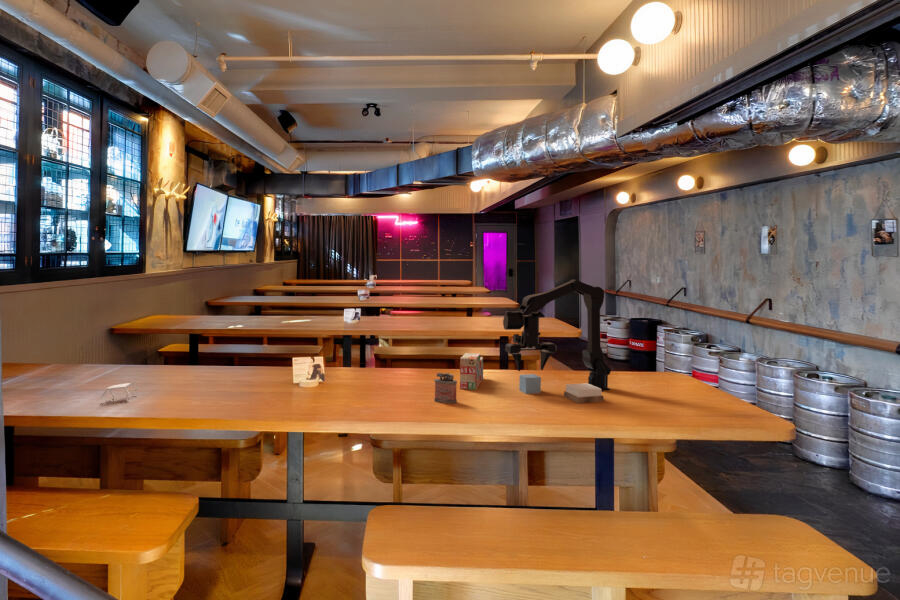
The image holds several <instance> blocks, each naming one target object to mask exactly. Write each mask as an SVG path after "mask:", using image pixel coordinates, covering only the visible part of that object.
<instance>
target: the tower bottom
mask: <svg viewBox="0 0 900 600" xmlns="http://www.w3.org/2000/svg"><path fill="white" fill-rule="evenodd" d="M563 397H564V398H566V399H568V400H570V401H572V402H575V403H577V404H587V403H601V402H604V395H602V394H601V396H590V397H577V396H575V395H573V394H571V393H568V392H566V390H564V391H563Z"/></svg>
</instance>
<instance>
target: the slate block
mask: <svg viewBox="0 0 900 600" xmlns="http://www.w3.org/2000/svg"><path fill="white" fill-rule="evenodd" d="M541 382H542V377H541V376H539V375H537V374H534V373H531V374H528V373H527V374H519V383H518V385H519V386H518V390H519V392H521V393H524V394H525V395H530V394H541V392H542V391H541V390H542V389H541V385H542V383H541Z"/></svg>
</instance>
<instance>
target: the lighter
mask: <svg viewBox="0 0 900 600" xmlns="http://www.w3.org/2000/svg"><path fill="white" fill-rule="evenodd" d="M436 377H438V378H434V400H433V401H434V402H436V403H445V404H457V403H458V400H457V383H458V380H456V379H454V377H455V375H454V374H451V373H449V372H445V373H443V372H437V373H436Z"/></svg>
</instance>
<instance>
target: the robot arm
mask: <svg viewBox="0 0 900 600" xmlns="http://www.w3.org/2000/svg"><path fill="white" fill-rule="evenodd" d="M573 292H575V293H577V294H578V295H581V296H582V298H583V302H584V305H585V308H586V310H587V311H586V312H587V316H586V317H587V347H586V349H583V350H582V359H581V360H582V362H583V364H584V366H585V367H587V371H588V372H589V373H588V374H589V376H588V379H587V380H588V381H587V382H588V384H591V385H593V386H596V387H598V388H601V389H602V390H601V391H609V390H610V389H611V388H609V387H608V381H609V380H608V379H609V375H610V374H611V371H612V369H611V368H610V367H609V366H608V365H607V364H606V361H605V360H606V359H605V354H604V352H603V350H602V348H601V308H602V307H603V304H604V301H605V291H604V289H603V288H602V287H600V286H595V285H594V286H593V285H590V284H587V283H584V282H583V281H581V280H579V279H570V280H569V281H567V282H565V283H563V284H561V285H558V286H556V287H553V288H550V289H549V290H546V291H544V292H540V293H533V294H529V295H526V296H524V297H523V299H522V300H521V301H522V303H521V304H520V306H519V308H518V309H517V310H516V311H507V310H506V311H505V313H504V316H503V320H502V325H503V326H502V327H503V329H504V330H510V331H511V330H521V329H522V328H523V330H522V331H521V335H520V334H519V333H517V334H516V333H515V334H513V336H512V342H513V343H506V344H505V347H504V351H505V352H506V353H508V354H509V355H511V356H512V358H513V359H514V362H515V366H516V368H517V371H518V372H521V368H522V366H521V365H522V353H521V351H539V352H540V353H539V354H540V366H539V367H540V371H543V370H544V368H545V367H546V364H547V362H548V360H549V359H550V357H551V356H552V355H553V354H554V352H557V348H558V347H557V345H556V344H555V343H552V342H546V341H545V342H541V343H540V340H539V339H540V336H541V332H540V318H545V317H546V316H545V315H544V314H543V313H542V311H541V310H542V309H543V308H544V307H546V305H548V304H549V303H550V302H553V301H555V300H558V299H560V298H562V297H565V296H566V295H569V294H572V293H573Z"/></svg>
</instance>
